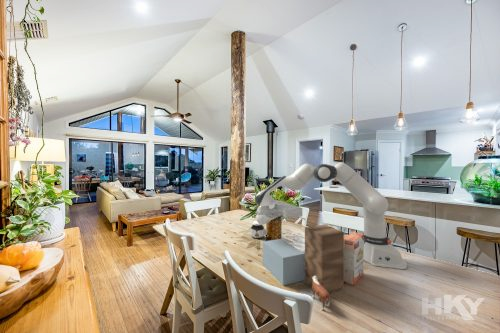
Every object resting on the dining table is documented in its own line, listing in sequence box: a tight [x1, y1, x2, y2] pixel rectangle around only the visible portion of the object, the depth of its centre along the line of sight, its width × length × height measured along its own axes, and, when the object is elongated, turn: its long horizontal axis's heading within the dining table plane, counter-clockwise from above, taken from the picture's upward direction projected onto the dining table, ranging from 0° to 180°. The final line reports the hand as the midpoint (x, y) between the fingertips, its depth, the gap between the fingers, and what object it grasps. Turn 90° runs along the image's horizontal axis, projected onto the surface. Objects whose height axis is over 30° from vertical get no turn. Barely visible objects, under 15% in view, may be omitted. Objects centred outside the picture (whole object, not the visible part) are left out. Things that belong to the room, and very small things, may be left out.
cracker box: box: [343, 231, 365, 286], centre depth 106 cm, size 14×6×21 cm, turn 136°
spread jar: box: [250, 220, 267, 240], centre depth 166 cm, size 12×11×12 cm
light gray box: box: [273, 200, 303, 219], centre depth 113 cm, size 22×9×4 cm, turn 22°
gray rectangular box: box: [262, 238, 305, 286], centre depth 113 cm, size 22×12×13 cm, turn 22°
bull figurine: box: [310, 276, 331, 311], centre depth 89 cm, size 4×13×8 cm, turn 7°
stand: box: [304, 224, 345, 294], centre depth 100 cm, size 12×12×26 cm
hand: (279, 204), depth 120 cm, fingers closed on light gray box, 4 cm apart
